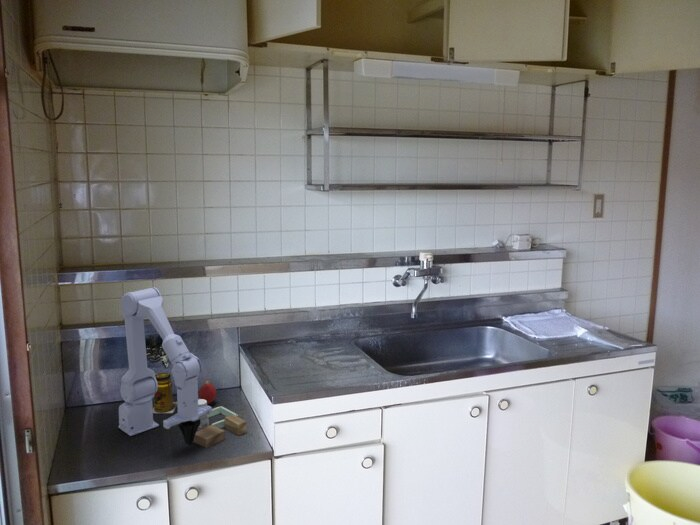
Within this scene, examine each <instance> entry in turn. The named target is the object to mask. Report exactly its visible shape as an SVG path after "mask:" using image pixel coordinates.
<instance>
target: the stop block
mask: <svg viewBox="0 0 700 525" xmlns="http://www.w3.org/2000/svg"><path fill="white" fill-rule="evenodd" d="M224 419H225V427H224V428H225V430H226V429H227V430H228V431H230V432H231V433H233V434H235V435H237V436H241V435H243V434H246V433H247V420H244V419H243V418H240V417H237V416H235V415H233V414H232V415H229V416H224Z"/></svg>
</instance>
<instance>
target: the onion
mask: <svg viewBox="0 0 700 525" xmlns="http://www.w3.org/2000/svg"><path fill="white" fill-rule="evenodd" d="M216 397H217V389H216V387H215V386H214V385H213V384H211V382H210V381H209V380H207V381H206V382H205V383H204V384H203V385H201V387H200V388H199V389H198V399H205V400H206V401H207V405H208V404H211V403H212V402H213V401H214V400H215V399H216Z"/></svg>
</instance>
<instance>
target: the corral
mask: <svg viewBox="0 0 700 525" xmlns="http://www.w3.org/2000/svg"><path fill="white" fill-rule="evenodd" d="M220 414H222V415H224V417H227V416H229V415H232V414H233V415H235V416H237V417H239V416H240V415H239V414H238V413H235V412H233V410H232V411H231V410H229V409H228V408H226V407H224V406H223V405H221V406H218V407H214V408H212V414H208V415H209V418H212V417H214V416H216V415H220ZM239 418H240V417H239ZM211 425H212V426H215V427H217V428H220V429H222V428H225V418H224V419H222V420H219V421H218V420H217V421H216V422H213V423H211Z"/></svg>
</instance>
